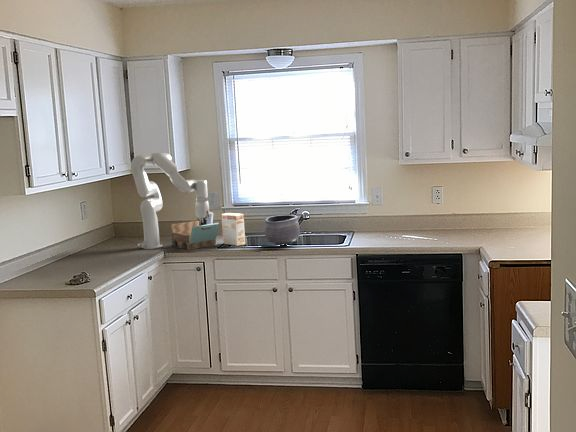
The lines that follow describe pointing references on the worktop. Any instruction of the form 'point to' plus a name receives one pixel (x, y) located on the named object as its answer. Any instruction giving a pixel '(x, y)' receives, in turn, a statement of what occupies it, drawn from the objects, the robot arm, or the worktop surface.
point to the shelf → (187, 236)
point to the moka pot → (209, 219)
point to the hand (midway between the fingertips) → (203, 228)
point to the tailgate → (204, 233)
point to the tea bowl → (282, 229)
